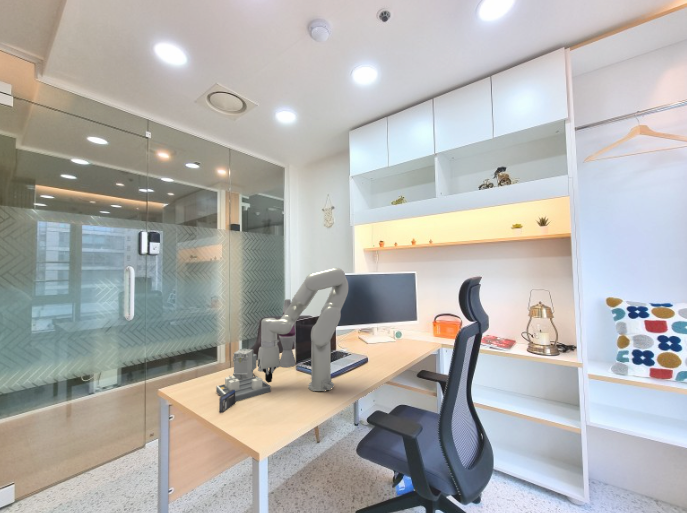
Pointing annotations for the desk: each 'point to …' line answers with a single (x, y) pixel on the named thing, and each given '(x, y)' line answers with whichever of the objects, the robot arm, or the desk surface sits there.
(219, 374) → the desk surface
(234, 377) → the tab
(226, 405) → the mini dv tape
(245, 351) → the circuit breaker
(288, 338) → the lamp
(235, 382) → the tab
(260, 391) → the switch bank
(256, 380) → the tab
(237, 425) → the desk surface
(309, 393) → the desk surface
